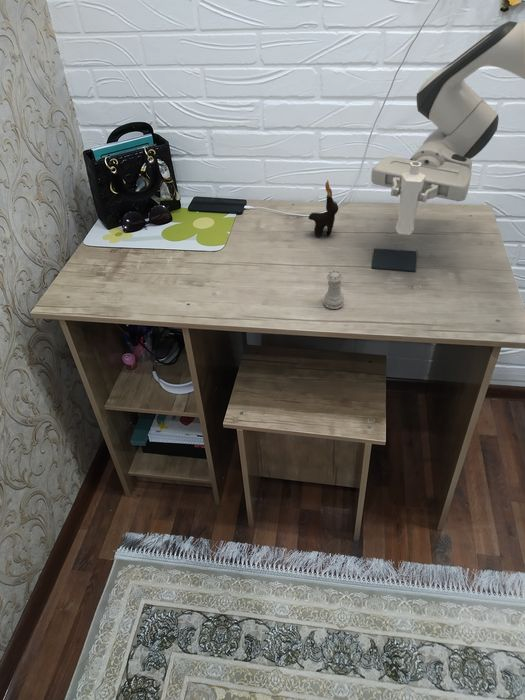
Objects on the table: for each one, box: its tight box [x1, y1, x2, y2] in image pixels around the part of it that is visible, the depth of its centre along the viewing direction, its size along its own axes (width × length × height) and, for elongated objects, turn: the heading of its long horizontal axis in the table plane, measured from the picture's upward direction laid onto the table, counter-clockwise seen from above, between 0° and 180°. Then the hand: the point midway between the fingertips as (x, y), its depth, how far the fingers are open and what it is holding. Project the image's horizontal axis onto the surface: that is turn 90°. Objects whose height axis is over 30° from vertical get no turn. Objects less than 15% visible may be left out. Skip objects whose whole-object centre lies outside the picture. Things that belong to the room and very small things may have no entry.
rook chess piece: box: [323, 269, 345, 310], centre depth 120 cm, size 4×4×8 cm
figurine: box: [308, 179, 339, 237], centre depth 139 cm, size 11×7×15 cm
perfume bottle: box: [395, 161, 425, 235], centre depth 116 cm, size 5×4×15 cm
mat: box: [370, 247, 418, 273], centre depth 133 cm, size 10×8×1 cm
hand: (408, 195), depth 115 cm, fingers closed on perfume bottle, 4 cm apart
